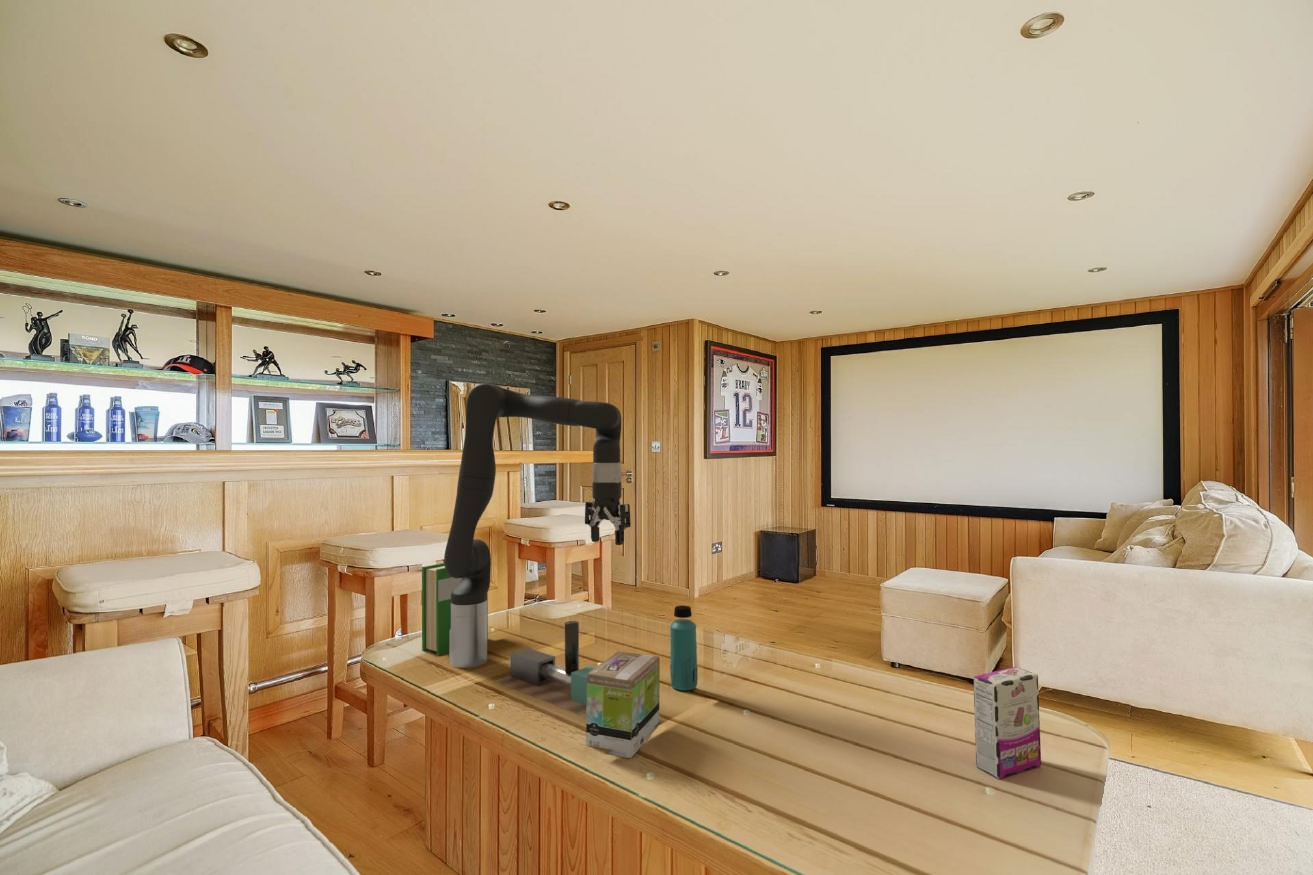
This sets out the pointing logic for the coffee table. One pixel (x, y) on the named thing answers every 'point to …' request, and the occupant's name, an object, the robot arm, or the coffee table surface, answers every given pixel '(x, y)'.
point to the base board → (546, 693)
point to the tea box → (623, 702)
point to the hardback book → (437, 607)
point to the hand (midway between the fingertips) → (607, 543)
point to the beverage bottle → (683, 650)
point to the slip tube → (571, 657)
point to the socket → (580, 685)
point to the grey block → (529, 665)
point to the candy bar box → (1007, 722)
